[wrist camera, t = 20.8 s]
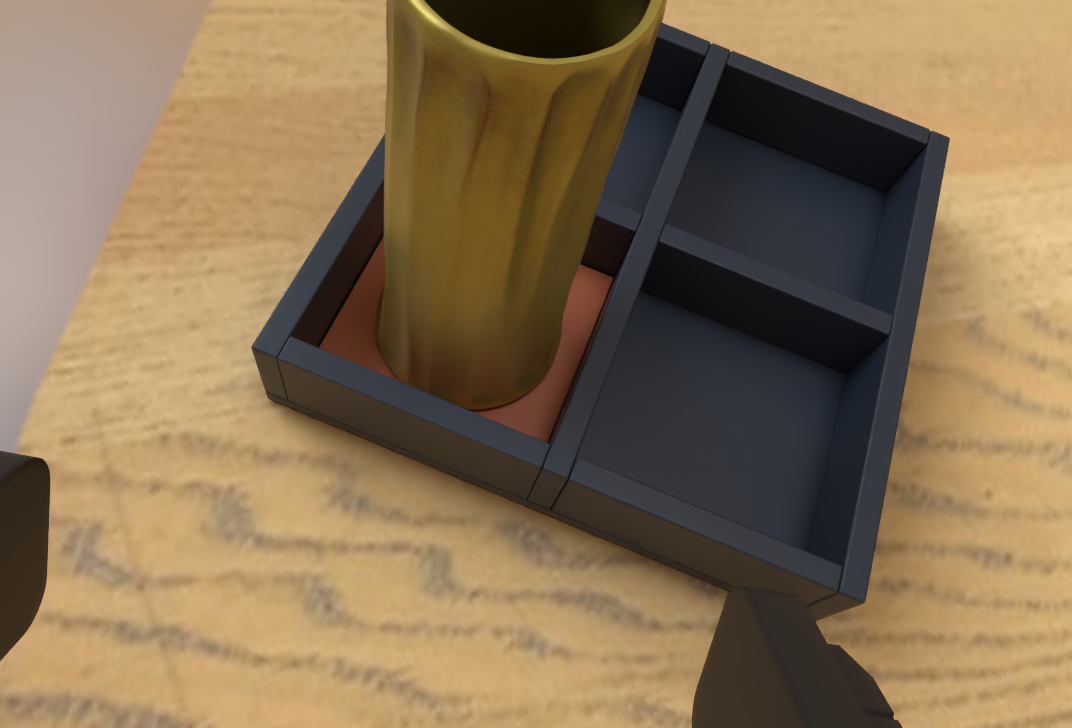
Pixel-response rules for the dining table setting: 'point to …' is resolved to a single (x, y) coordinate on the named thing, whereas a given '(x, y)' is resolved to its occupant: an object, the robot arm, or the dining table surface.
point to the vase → (496, 179)
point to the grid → (680, 333)
